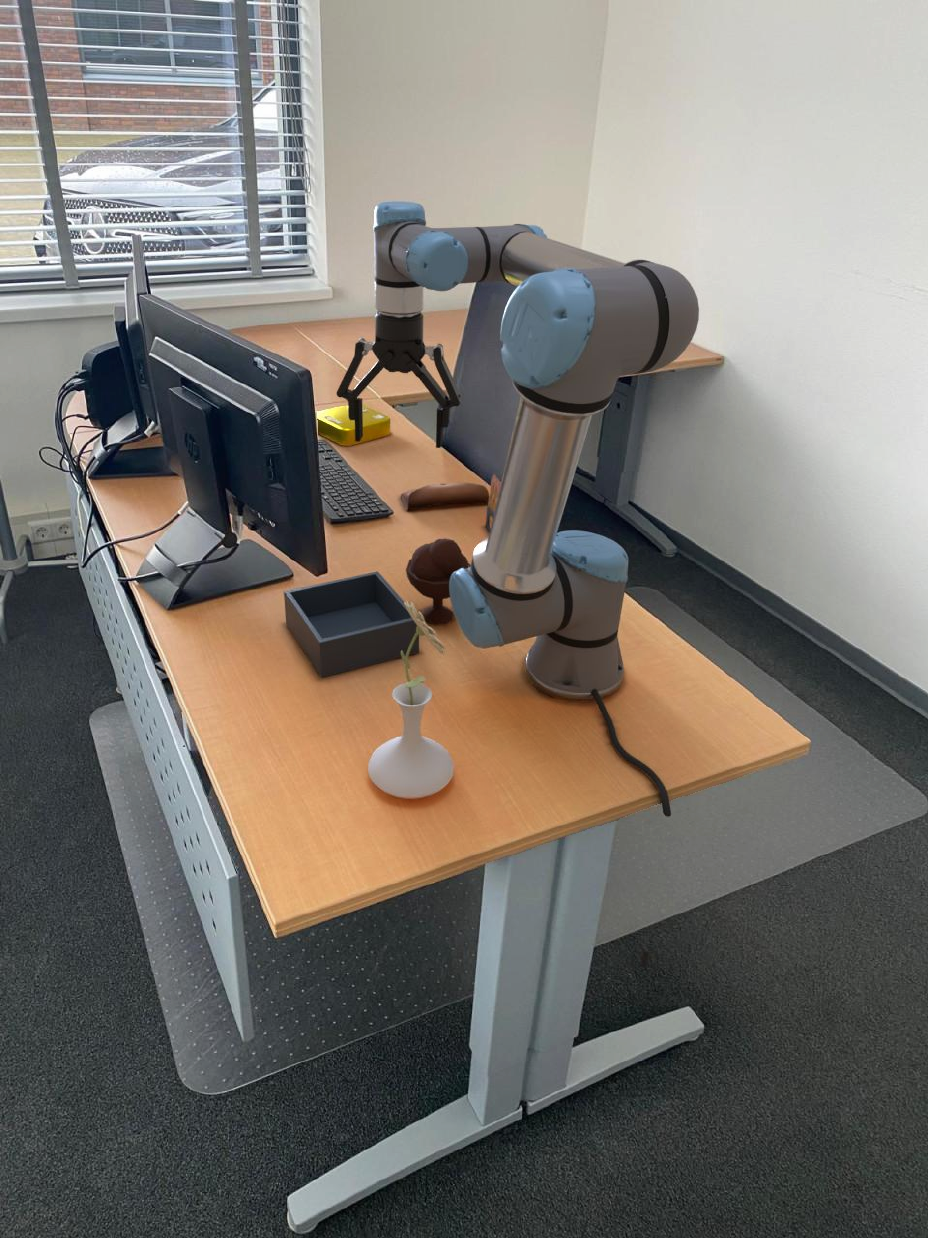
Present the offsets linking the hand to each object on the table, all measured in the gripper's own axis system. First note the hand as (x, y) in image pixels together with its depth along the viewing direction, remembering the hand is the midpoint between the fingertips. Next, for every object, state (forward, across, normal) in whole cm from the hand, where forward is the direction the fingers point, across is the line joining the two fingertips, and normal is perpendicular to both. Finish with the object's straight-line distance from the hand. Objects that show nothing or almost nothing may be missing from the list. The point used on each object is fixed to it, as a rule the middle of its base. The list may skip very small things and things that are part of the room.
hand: (399, 441), depth 152 cm
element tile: (+26, +25, -70) cm, 79 cm away
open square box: (+26, +4, +21) cm, 34 cm away
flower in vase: (+27, -11, +51) cm, 59 cm away
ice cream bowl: (+27, -9, +11) cm, 30 cm away
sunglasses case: (+26, -3, -35) cm, 44 cm away
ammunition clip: (+26, -16, -20) cm, 37 cm away
